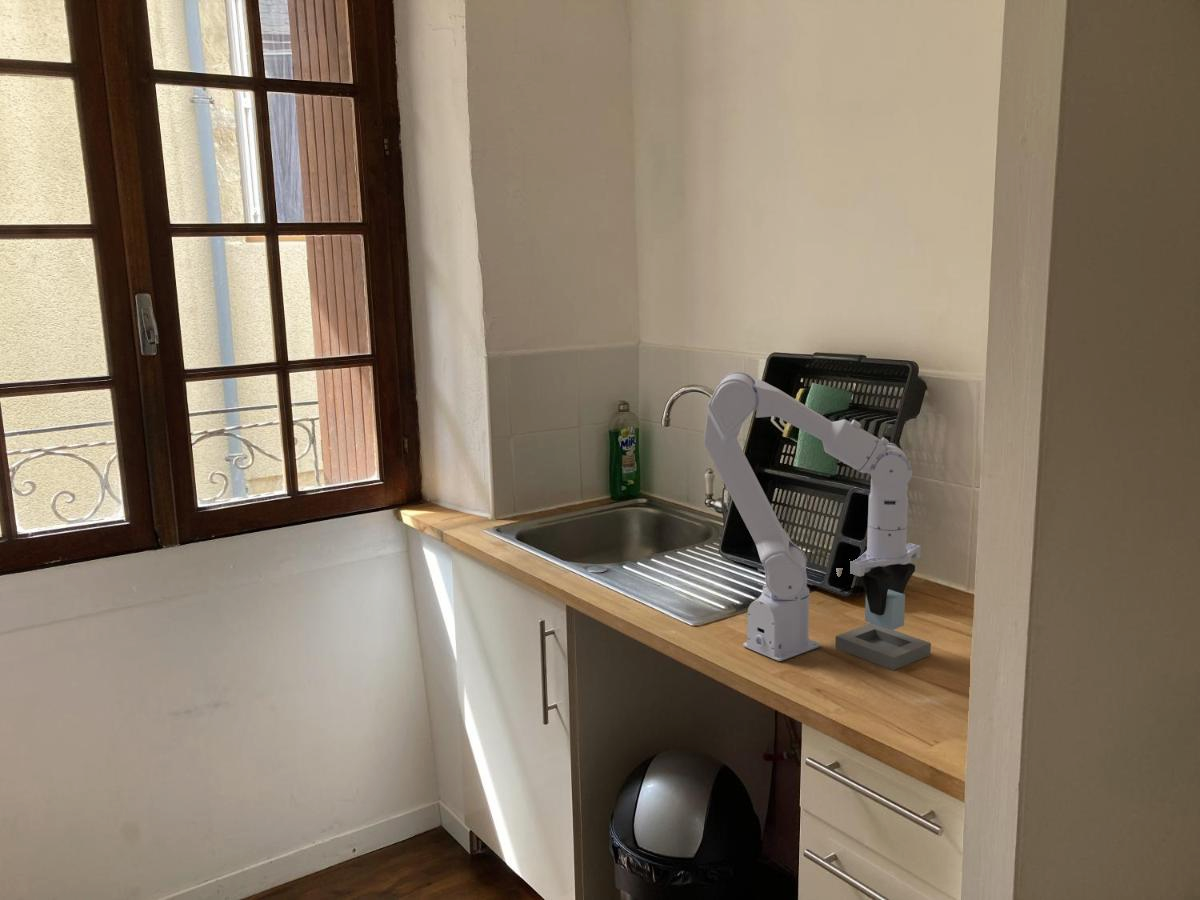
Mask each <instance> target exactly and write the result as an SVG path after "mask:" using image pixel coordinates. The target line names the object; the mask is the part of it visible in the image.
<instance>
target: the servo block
mask: <svg viewBox="0 0 1200 900" xmlns="http://www.w3.org/2000/svg"><path fill="white" fill-rule="evenodd" d="M864 607H865V609H864V621H865V622H867V623H868V624H870V623H872V624H875V625H878V626H881V627H884V628H886V629H889V630H896V629H899V628H902V627H904V626H905V609H906V594H904V593H903V594H902V593H899V592H895V591H892V590H889V589H888V592H887V598H886V607H885V611H884V614H883V615H877V614H874V613H871V612H870V609H869V604H868V600H867V596H866V595H865V606H864Z"/></svg>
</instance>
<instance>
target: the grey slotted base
mask: <svg viewBox="0 0 1200 900" xmlns="http://www.w3.org/2000/svg"><path fill="white" fill-rule="evenodd" d="M834 641H835V642H834V643H835V644H834V645H835V649H837V650H839V651H843V652H845V653H847V654H850V655H852V656H855V657H857V658H860V659H863V660H866V661H868V662H869V663H870V662H871V663H873V664H876V665H877V666H878V665H879V666H880V667H883V668H886V669H889V670H892V671H896V670H898V669H901V668H903V667H905V666H908V665H910V664H913V663H915V662H917V661H920V660H923V659H925V658H926V657H929V656H931V649H932V642H929V641H927V640H925V639H920V638H918V637H915V636H912V635H909V634H907V633H903V632H901V631H898V630H896V629H894V630H889V629H886V628H884V627H881V626H878V625H875V624H872V623H867V624H865V625H862V626H858V627H857V628H854V629H850V630H849V631H845V632H842V633H840V634H837V635H835V640H834Z"/></svg>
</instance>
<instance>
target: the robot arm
mask: <svg viewBox="0 0 1200 900" xmlns="http://www.w3.org/2000/svg"><path fill="white" fill-rule="evenodd" d="M753 411H756V414H755V418H756V419H757V418H769V417H776V418H778V419H781V420H782V421H784V422H786V423H788V424H790V425H792V426H793V427H795V428H798V429H800V430H801V431H803V432H805V433H806V434H807V433H808V435H811V436H813V437H815V438H817V439H818V440H821V442H822V446H823V451H824V452H825V454H828V455H829V456H831V457H833V458H835V459H837V460H838V461H840V462H841V463H843V464H846V465H847V466H849V467H850V468H852V469H853V470H856V471H857V472H859V473H861V474H863V473H864V474H869V475H870V477H871V478H870V492H869V494H868V507H867V508H868V509H867V511H868V512H867V513H868V514H867V533H866V534H867V537H866V538H867V539H866V541H867V542H866V546H867V549H866V551H865V552H864V553H863V554H862V555H861V556H859V557H858V558H857V559H855V560H853V561H850V574H853V575H855V576H857V577H858V579H859V581H860V582H861V584H862V587H863V589H864V592H865V597H866V596H867V600H868V604H869V609H870V612H871V613H874V614H877V615H883V614H884V611H885V607H886V598H887V592H888V589H889V590H892V591H895V592H899V593H902V594H904V592H905V589H906V586H907V585H908V582H909V580H910V579H911V577H912V575H913V574H914V573H915V571H916V565H915V564H914V563H912V559H920V558H921V550H922V546H921V545H918V544H914V543H911V542H910V543H907V540H908V539H907V535H908V534H907V533H908V532H907V531H908V509H909V508H908V507H909V496H908V490H909V485H908V483H910V481H911V479H912V477H913V476H912V475H913V470H912V465H911V463H910V461H909V458H908V457H907V454H906V453H905V452H904V451H903V450H902V449H901V448H900V447H898V445H897V444H896V443H892V442H890V441H889V440H888V439H887V438H885V437H882V438H881V439H880V438H879V437H877V436H875V435H874V434H871V433H870V432H868V431H866V430H865V429H863V428H861V427H862V424H861V423H860V422H859V421H857V420H856V419H852V421H851V422H850V421H849V420H847V419H840V420H835V421H831V420H830V419H828V418H826V417H825V416H823V415H822V414H820V413H818V412H816V411H815V410H813V409H812V408H810V407H808V406H807V405H806V404H804V403H802V402H801V401H799V400H797V399H796V398H794V397H792V396H790V395H789V394H787V393H786V392H784V391H782V390H781V389H779V388H777V387H775V386H773V385H771V384H769V383H768V382H766V381H763V380H761V379H758V378H756V380H755V379H754V378H753V377H752V376H751V375H750V374H748V373H746V372H741V371H734V372H729V373H728V374H726V375H725V376H723V377H722V378H721V380H720V381H719V383H718V385H717V387H716V388H715V390H714V392H713V393H712V396H711V398H710V400H709V402H708V404H707V413H706V421H705V428H704V430H705V431H704V439H703V443H704V447H705V448H706V451H707V452H708V454H709V456H710V458H711V460H712V462H713V465H714V467H715V468H716V471H717V472H718V474H719V476H720V478H721V480H722V482H723V483H724V486H725V487H726V490H727V491H728V493H729V496H730V497H731V499H732V501H733V503H734V505H735V507H736V509H737V511H738V512H739V515H740V516H741V519H742V520H743V522H744V524H745V527H746V529H747V530H748V531H749V534H750V536H751V537H752V540H753V542H754V544H755V546H756V550H757V553H758V556H759V559H760V562H761V565H762V567H763V568H764V573H765V575H764V581H765V584H764V585H762V591H761V594H760V596H758V598H757V599H755V600H754V601H751V603H750V604H749V606H748V608H747V613H746V614H747V620H746V621H747V622H746V623H747V626H746V631H747V632H746V633H747V634H746V636H747V637H746V642H743V645H742V646H743V647H745V648H747V649H749V650H752V651H754V652H756V653H758V654H761V655H763V656H765V657H767V658H768V657H769V658H770V659H773V660H775V661H778V662H782V661H785V660H788V659H791V658H792V657H797V656H798V655H801V654H803V653H807V652H809V651H812V650H814V649H817V648H820V647H821V643H820V642H818V641H815V640H812V639H810V638H809V630H810V629H809V628H810V627H809V626H810V625H809V624H810V622H809V620H810V588H809V587H808V575H807V565H808V564H807V563H808V562H807V561H808V559H807V556H806V554H805V552H804V551H803V549H801V547H799V546H798V545H797V544H795V543H794V542H793V541H792V539H791V537H790V536H789V533H788V532H787V531H786V530H785V529H784V528H783V526H782V524H781V523H780V521H779V518H778V517H777V515H776V513H775V511H774V508H773V506H772V504H771V503H770V501H769V500H768V497H767V495H766V493H765V492H764V489H763V488H762V486H761V484H760V482H759V480H758V477H757V476H756V473H755V472H754V470H753V468H752V466H751V464H750V462H749V460H748V458H747V456H746V455H745V453H744V450H743V448H742V446H741V445H740V443H739V441H738V437H739V435H740V431H741V429H742V425H743V424H744V423H745V421H746V420H747V419H748V418H749V416H751V414H752V413H753Z"/></svg>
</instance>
